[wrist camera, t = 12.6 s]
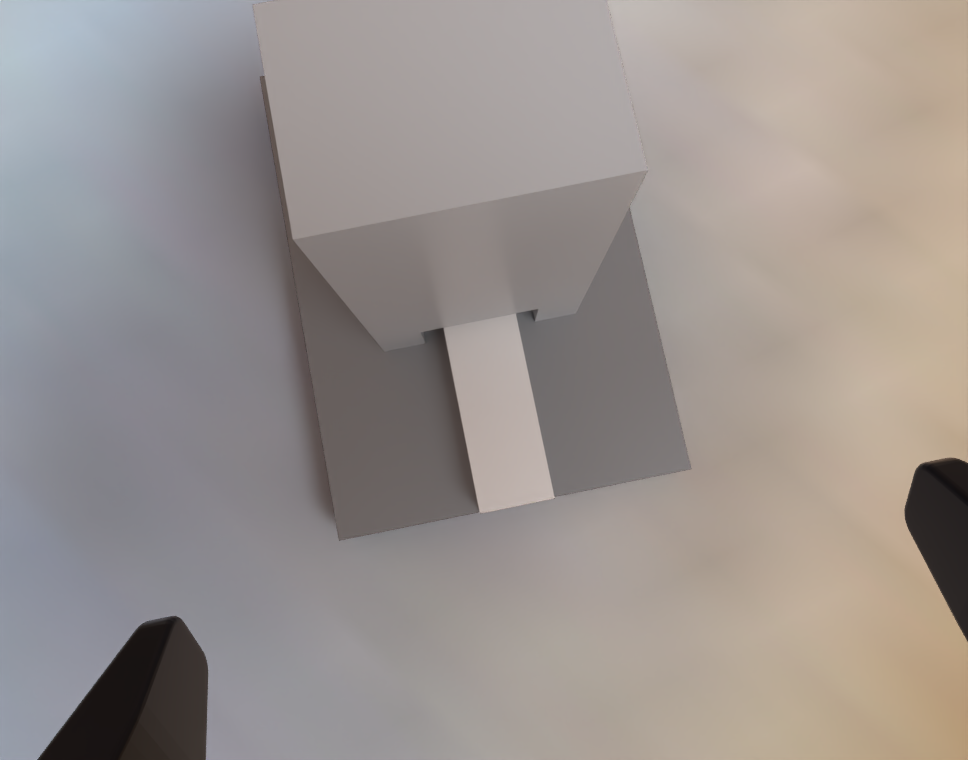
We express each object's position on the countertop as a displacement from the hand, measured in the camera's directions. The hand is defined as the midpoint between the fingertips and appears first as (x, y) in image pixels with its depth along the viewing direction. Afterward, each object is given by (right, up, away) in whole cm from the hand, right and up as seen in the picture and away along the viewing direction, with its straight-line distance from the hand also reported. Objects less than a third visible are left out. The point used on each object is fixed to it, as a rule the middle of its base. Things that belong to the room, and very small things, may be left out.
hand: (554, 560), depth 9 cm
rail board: (-1, +5, +14) cm, 15 cm away
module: (-1, +6, +13) cm, 14 cm away
